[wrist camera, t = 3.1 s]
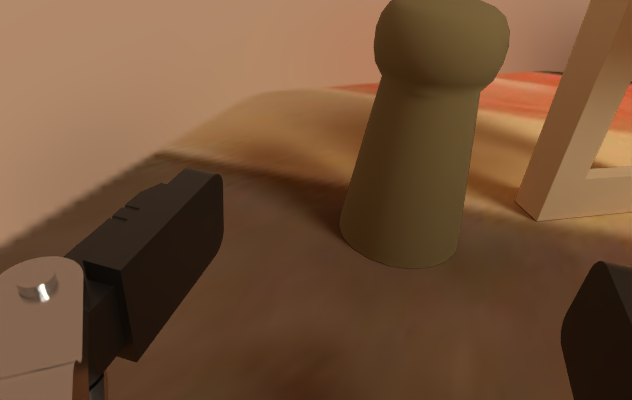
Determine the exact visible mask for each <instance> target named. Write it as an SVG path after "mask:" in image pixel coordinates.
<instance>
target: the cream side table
mask: <svg viewBox="0 0 632 400" xmlns="http://www.w3.org/2000/svg"><path fill="white" fill-rule="evenodd" d="M631 79H632V0H591V1H590V4H589V6H588V9H587V12H586V14H585V17H584V20H583V22H582V25H581V27H580V30H579V33H578V35H577V38H576V41H575V44H574V46H573V49H572V51H571V54H570V57H569V59H568V62H567V64H566V67H565V70H564V72H563V75H562V78H561V80H560V83H559V86H558V88H557V91H556V94H555V96H554V99H553V101H552V104H551V107H550V109H549V112H548V115H547V117H546V120H545V123H544V125H543V128H542V131H541V133H540V136H539V138H538V141H537V144H536V146H535V149H534V152H533V154H532V157H531V160H530V162H529V165H528V168H527V170H526V173H525V175H524V178H523V181H522V183H521V186H520V189H519V191H518V194H517V197H516V199H515V202H516V203H517V204H518V205H520V206H521V207H522V208H523V209H524V210H525V211H526V212H527V213H528V214H529V215H531V216H532V217H533V218H534V219H535V220H536V221H544V220H554V219H564V218H574V217H585V216H595V215H605V214H615V213H625V212H632V166H626V167H610V168H595V169H590V168H591V166H592V164H593V161H594V159H595V157H596V155H597V153H598V151H599V148H600V146H601V144H602V142H603V140H604V138H605V135H606V133H607V131H608V129H609V127H610V125H611V123H612V120H613V118H614V116H615V114H616V112H617V110H618V107H619V105H620V103H621V101H622V99H623V97H624V94H625V92H626V90H627V88H628V86H629V84H630V81H631Z"/></svg>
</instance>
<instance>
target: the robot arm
mask: <svg viewBox="0 0 632 400" xmlns="http://www.w3.org/2000/svg"><path fill="white" fill-rule="evenodd" d="M223 231H224V221H223V181H222V177H221V176H220V175H219V174H216V173H211V172H207V171H202V170H198V169H194V168H185V169H184V170H183V171H182V172H181V173H179V174H178V175H177V176H176V177H175V178H174V179H173V180H172V181H170V182H169V183H168V184H163V183H161V184H158V185H156V186H154V187H151V188H149V189H147V190H144V191H142V192H140V193H139V194H138V195H136V196H135V197H134V198H133V199H132V200H130V201H129V202H128V203H127V204H126V205H125V208H121V209H120V210H119V211H117V212H116V213H115V214H114V215H113V217H112V219H110V218H109V219H108V220H107V221H105V222H104V223H103V224H102V225H101V226H100V227H98V228H97V229H96V230H95V231H94V232H92V233H91V234H90V235H89V236H88V237H86V238H85V239H84V240H83V241H82V242H81V243H79V244H78V245H77V246H76V247H75V248H73V249H72V250H71V251H70V252H69V253H67V254H66V255H65V256H64V257H57V256H48V257H39V258H34V259H31V260H27V261H24V262H22V263H19V264H17V265H15V266H13V267H11V268H9V269H8V270H6V271H4V272H3V273H2V274H1V275H0V400H108V379H107V372H106V368H107V367H108V366H109V365H110V363H111V362H112V361H113V360H114V358H115V357H116V356H117V357H121V358H124V359H127V360H130V361H134V362H138V360H139V359H140V357H141V356H142V355H143V353H144V352H145V351H146V349H147V348H148V347H149V345H150V344H151V343H152V341H153V340H154V338H155V337H156V336H157V334H158V333H159V332H160V330H161V329H162V328H163V326H164V325H165V324H166V322H167V321H168V319H169V318H170V317H171V315H172V314H173V313H174V311H175V310H176V309H177V307H178V306H179V305H180V303H181V302H182V300H183V299H184V298H185V296H186V295H187V294H188V292H189V291H190V290H191V288H192V287H193V286H194V284H195V283H196V281H197V280H198V279H199V277H200V276H201V275H202V273H203V272H204V271H205V269H206V268H207V267H208V265H209V264H210V262H211V261H212V260H213V258H214V257H215V256H216V254H217V252H218V250H219V248H220V245H221V242H222V238H223ZM561 346H562V351H563V355H564V359H565V363H566V368H567V372H568V376H569V380H570V385H571V389H572V393H573V397H574V400H632V268H629V267H625V266H620V265H616V264H612V263H607V262H603V261H599V262H597V263H595V264H594V265H593V266H592V268H591V269H590V271H589V273H588V275H587V277H586V278H585V280H584V282H583V284H582V286H581V288H580V289H579V291H578V293H577V295H576V297H575V299H574V300H573V302H572V304H571V306H570V308H569V310H568V311H567V313H566V315H565V318H564V320H563V324H562V329H561Z"/></svg>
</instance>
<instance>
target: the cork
mask: <svg viewBox="0 0 632 400" xmlns="http://www.w3.org/2000/svg"><path fill="white" fill-rule="evenodd" d="M509 35H510V30H509V27H508V23H507V19H506V17H505V16H504V15H503V14H502V13H501V12H500V11H499V10H498V9H497V8H496V7H495V6H492V5H490V4H488V3H485V2H483V1H481V0H392V1H390V2H389V4H388V5H387V6H386V8H385V9H384V10H383V11H382V13H381V15H380V18H379V21H378V23H377V26H376V31H375V39H374V54H375V62H376V64H377V66H378V68H379V70H380V72H381V75H382V77H381V81H380V84H379V87H378V91H377V94H376V97H375V101H374V104H373V108H372V111H371V114H370V118H369V121H368V124H367V128H366V131H365V134H364V138H363V141H362V144H361V148H360V151H359V155H358V158H357V161H356V165H355V168H354V171H353V175H352V178H351V181H350V185H349V188H348V191H347V195H346V198H345V201H344V205H343V208H342V212H341V215H340V221H339V228H340V231H341V233H342V236H343V238H344V239H345V240H346V241H347V242H348V243H349V244H350V246H351V247H352V248H353V249H354V250H356V251H358V252H359V253H361V254H362V255H364V256H366V257H367V258H369V259H371V260H374V261H377V262H380V263H383V264H385V265H388V266H394V267H401V268H407V269H415V268H429V267H432V266H435V265H438V264H441V263H444V262H445V261H447V260H448V259H449V258H450V257H451V256H452V255H454V254H455V251H456V248H457V245H458V242H459V235H460V228H461V221H462V214H463V207H464V200H465V194H466V187H467V180H468V173H469V166H470V159H471V152H472V145H473V138H474V131H475V125H476V118H477V111H478V104H479V97H480V92H481V91H482V90H483V89H484V88H485V87H487V86H488V85H489V84H490V83H491V82H492V81H493V80H494V79H495V77H496V75H497V73H498V72H499V70H500V68H501V67H502V65H503V63H504V60H505V57H506V54H507V51H508V47H509Z"/></svg>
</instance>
